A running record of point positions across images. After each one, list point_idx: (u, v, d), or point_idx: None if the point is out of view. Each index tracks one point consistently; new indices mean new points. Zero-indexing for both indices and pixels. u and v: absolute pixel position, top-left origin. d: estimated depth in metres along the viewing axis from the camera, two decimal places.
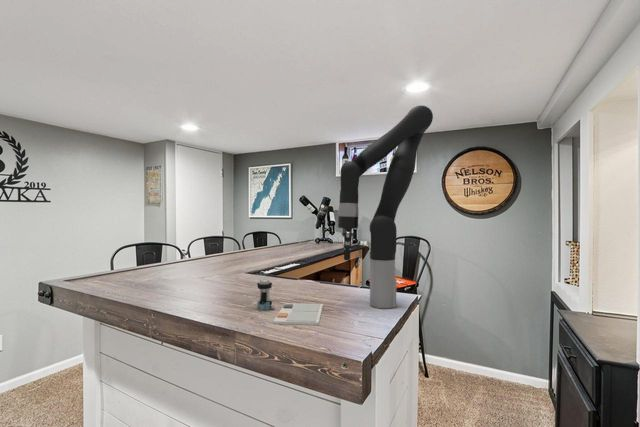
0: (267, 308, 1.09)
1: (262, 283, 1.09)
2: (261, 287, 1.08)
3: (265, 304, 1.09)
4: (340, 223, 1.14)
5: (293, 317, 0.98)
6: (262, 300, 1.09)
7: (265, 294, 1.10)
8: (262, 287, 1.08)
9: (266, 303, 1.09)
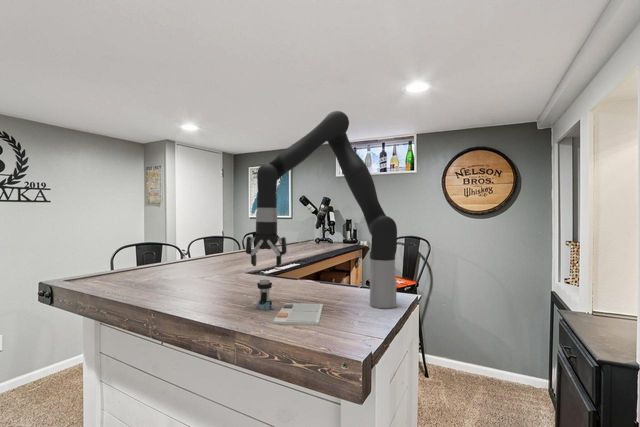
0: (267, 308, 1.09)
1: (262, 283, 1.09)
2: (261, 287, 1.08)
3: (265, 304, 1.09)
4: (271, 229, 1.07)
5: (293, 317, 0.98)
6: (262, 300, 1.09)
7: (265, 294, 1.10)
8: (262, 287, 1.08)
9: (266, 303, 1.09)
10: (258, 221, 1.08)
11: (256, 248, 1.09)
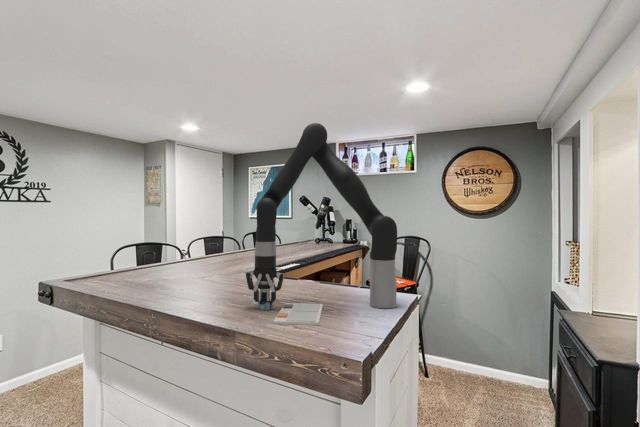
0: (267, 308, 1.09)
1: (262, 283, 1.09)
2: (261, 287, 1.08)
3: (265, 304, 1.09)
4: (270, 263, 1.07)
5: (293, 317, 0.98)
6: (262, 300, 1.09)
7: (265, 294, 1.10)
8: (262, 287, 1.08)
9: (266, 303, 1.09)
10: (257, 255, 1.07)
11: (257, 283, 1.09)
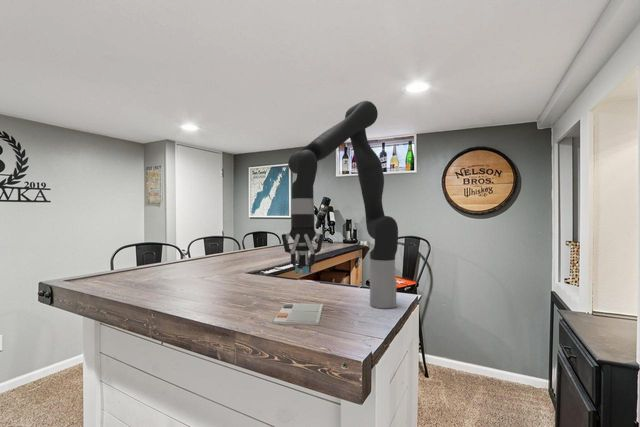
0: (306, 272, 0.98)
1: (300, 245, 0.98)
2: (299, 249, 0.97)
3: (304, 268, 0.99)
4: (309, 222, 0.97)
5: (293, 317, 0.98)
6: (301, 263, 0.98)
7: (304, 257, 0.99)
8: (301, 249, 0.97)
9: (305, 267, 0.98)
10: (294, 213, 0.97)
11: (294, 245, 0.98)
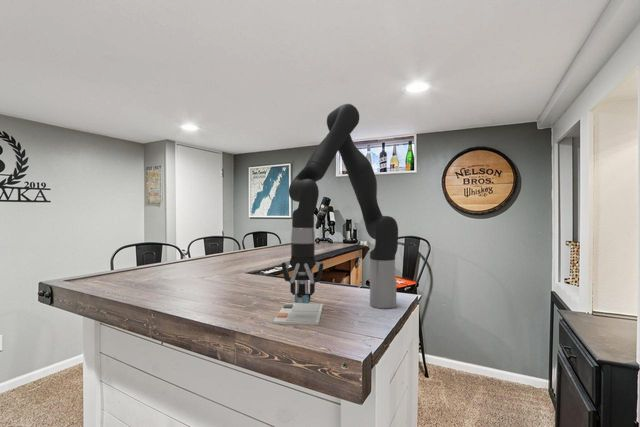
0: (306, 301, 0.98)
1: (300, 274, 0.98)
2: (299, 278, 0.97)
3: (303, 297, 0.98)
4: (309, 252, 0.96)
5: (293, 317, 0.98)
6: (300, 293, 0.98)
7: (303, 286, 0.99)
8: (300, 278, 0.97)
9: (305, 296, 0.98)
10: (294, 243, 0.97)
11: (294, 274, 0.98)
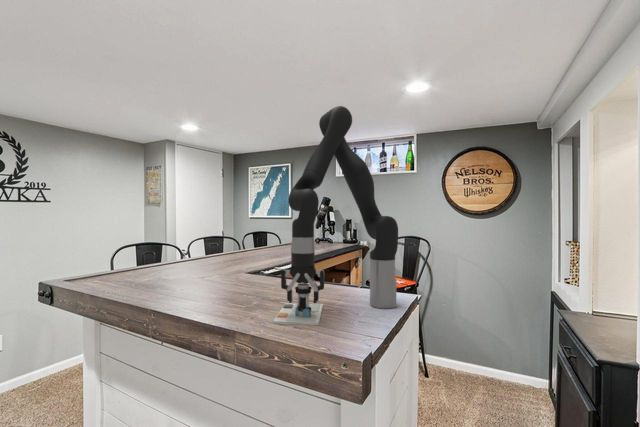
0: (306, 315, 0.98)
1: (301, 287, 0.98)
2: (300, 292, 0.97)
3: (304, 311, 0.98)
4: (309, 262, 0.96)
5: (293, 317, 0.98)
6: (301, 306, 0.98)
7: (304, 299, 0.99)
8: (302, 292, 0.97)
9: (305, 310, 0.98)
10: (294, 252, 0.96)
11: (293, 283, 0.98)
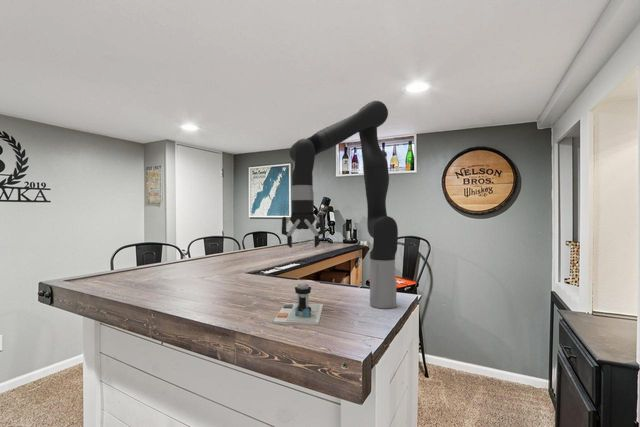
0: (306, 315, 0.98)
1: (301, 287, 0.98)
2: (300, 292, 0.97)
3: (304, 311, 0.98)
4: (309, 208, 1.02)
5: (293, 317, 0.98)
6: (301, 306, 0.98)
7: (304, 300, 0.99)
8: (301, 292, 0.97)
9: (305, 310, 0.98)
10: (295, 199, 1.02)
11: (293, 228, 1.03)
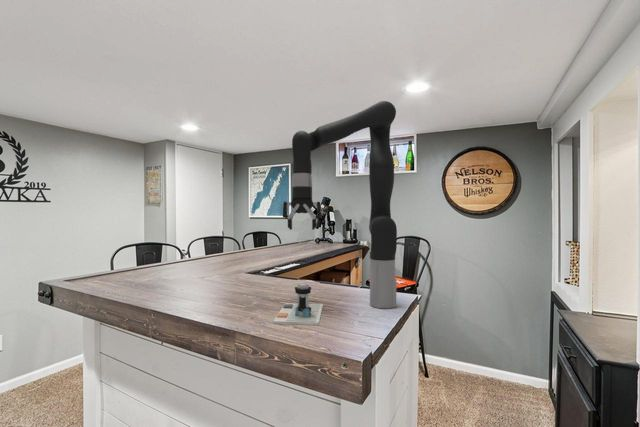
0: (306, 315, 0.98)
1: (301, 287, 0.98)
2: (300, 292, 0.97)
3: (304, 311, 0.98)
4: (307, 193, 1.13)
5: (293, 317, 0.98)
6: (301, 306, 0.98)
7: (304, 300, 0.99)
8: (301, 292, 0.97)
9: (305, 310, 0.98)
10: (295, 186, 1.13)
11: (293, 212, 1.14)
